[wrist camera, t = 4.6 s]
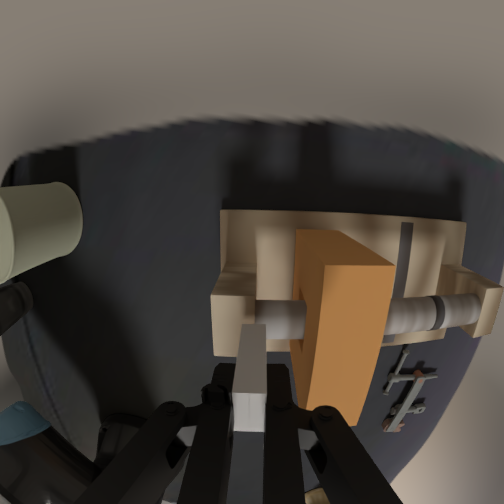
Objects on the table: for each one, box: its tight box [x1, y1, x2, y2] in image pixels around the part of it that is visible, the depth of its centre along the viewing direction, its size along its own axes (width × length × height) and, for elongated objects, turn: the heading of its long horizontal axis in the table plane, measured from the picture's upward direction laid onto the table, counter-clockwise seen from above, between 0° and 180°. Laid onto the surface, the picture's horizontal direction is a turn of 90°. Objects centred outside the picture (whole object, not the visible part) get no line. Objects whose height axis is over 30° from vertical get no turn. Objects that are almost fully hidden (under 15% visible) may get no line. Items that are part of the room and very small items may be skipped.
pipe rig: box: [211, 210, 504, 357], centre depth 24 cm, size 28×15×10 cm, turn 89°
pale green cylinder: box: [0, 182, 83, 284], centre depth 22 cm, size 9×9×12 cm
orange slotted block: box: [289, 229, 396, 426], centre depth 21 cm, size 4×12×12 cm, turn 179°
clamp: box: [382, 350, 438, 432], centre depth 31 cm, size 15×2×10 cm
